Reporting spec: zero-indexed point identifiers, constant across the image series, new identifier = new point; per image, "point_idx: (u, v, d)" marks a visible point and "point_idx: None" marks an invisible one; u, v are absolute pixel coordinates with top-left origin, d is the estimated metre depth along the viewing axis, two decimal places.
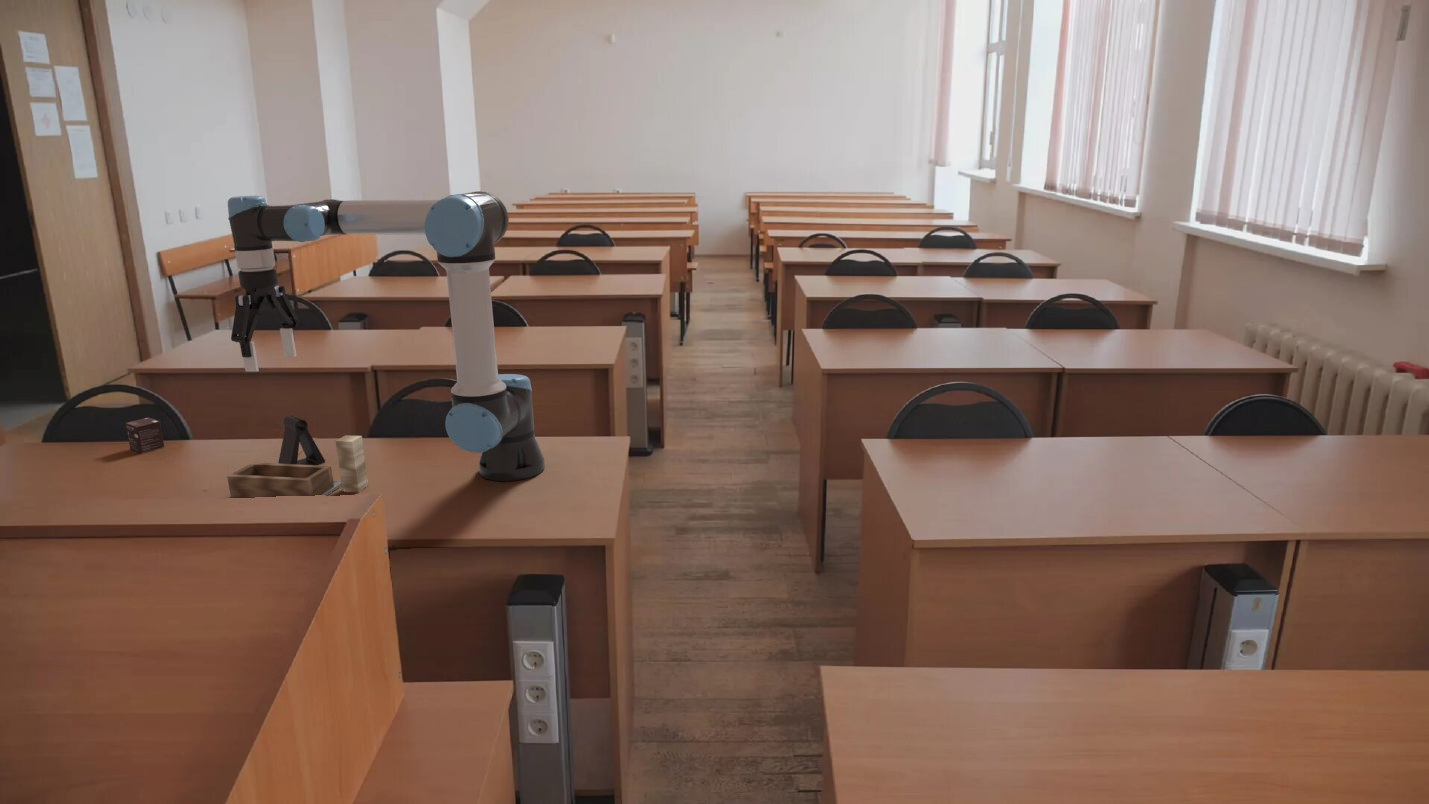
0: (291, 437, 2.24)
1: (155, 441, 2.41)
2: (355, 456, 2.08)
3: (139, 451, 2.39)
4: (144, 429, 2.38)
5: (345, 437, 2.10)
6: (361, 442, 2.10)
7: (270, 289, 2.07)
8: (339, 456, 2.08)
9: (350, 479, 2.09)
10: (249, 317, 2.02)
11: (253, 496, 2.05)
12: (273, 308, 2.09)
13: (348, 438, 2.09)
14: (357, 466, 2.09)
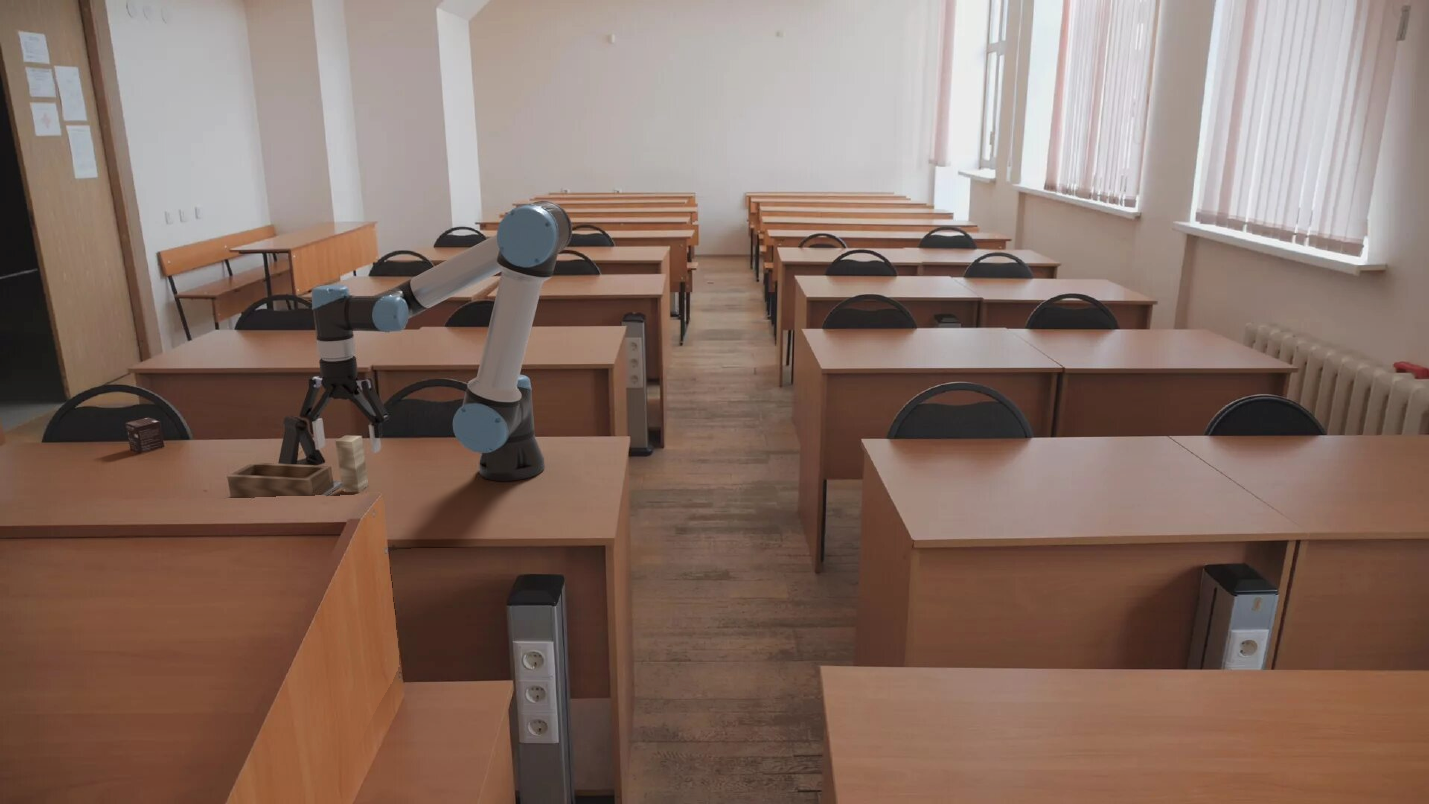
0: (291, 437, 2.24)
1: (155, 441, 2.41)
2: (355, 456, 2.08)
3: (139, 451, 2.39)
4: (144, 429, 2.38)
5: (345, 437, 2.10)
6: (361, 442, 2.10)
7: (345, 380, 2.04)
8: (338, 456, 2.08)
9: (350, 479, 2.09)
10: None
11: (253, 496, 2.05)
12: None
13: (347, 438, 2.09)
14: (357, 466, 2.09)
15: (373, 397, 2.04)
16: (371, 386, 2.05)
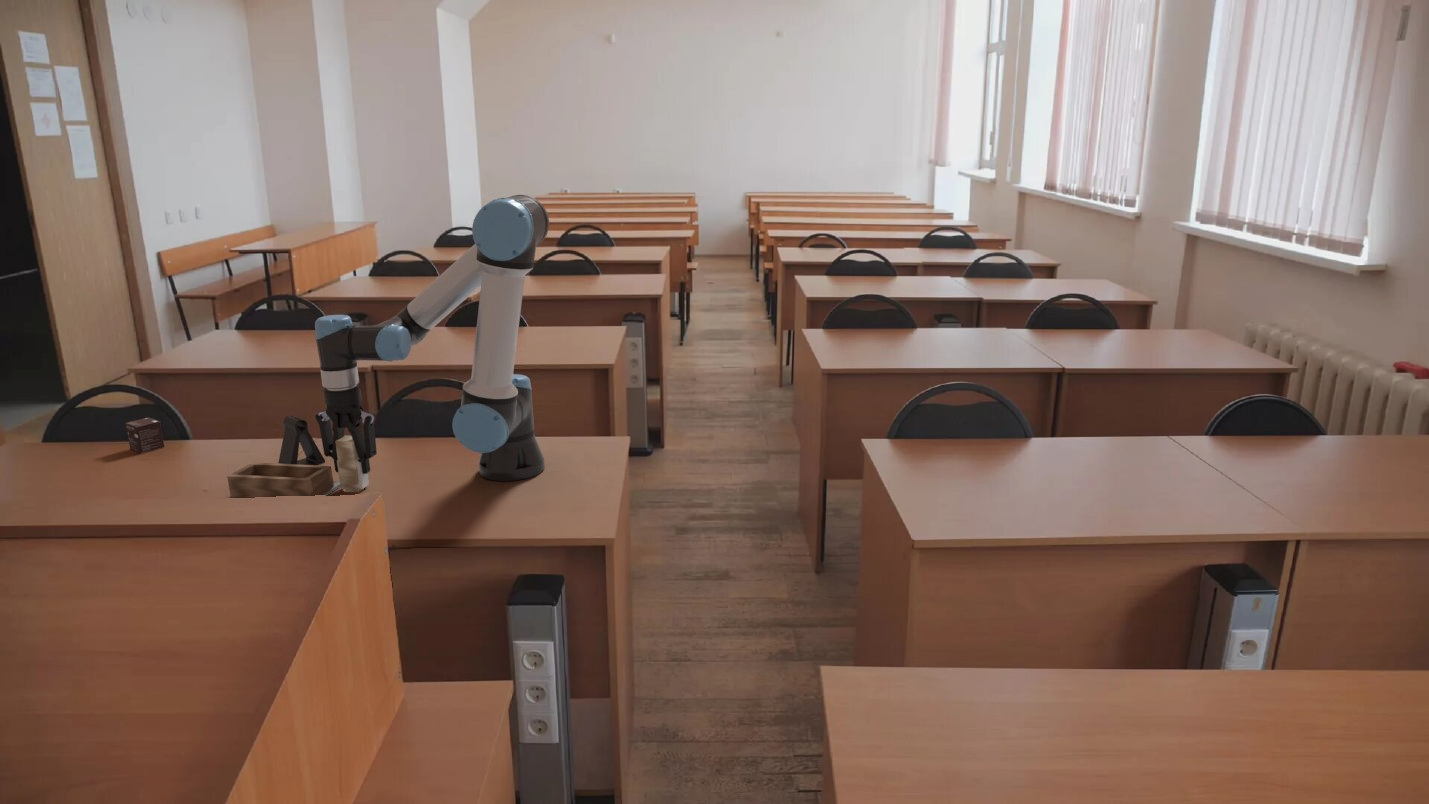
0: (291, 437, 2.24)
1: (155, 441, 2.41)
2: (355, 456, 2.08)
3: (139, 451, 2.39)
4: (144, 429, 2.38)
5: (345, 437, 2.10)
6: None
7: (351, 407, 2.05)
8: (338, 456, 2.08)
9: (350, 479, 2.09)
10: None
11: (253, 496, 2.05)
12: None
13: (347, 438, 2.09)
14: None
15: (370, 433, 2.07)
16: (373, 422, 2.07)
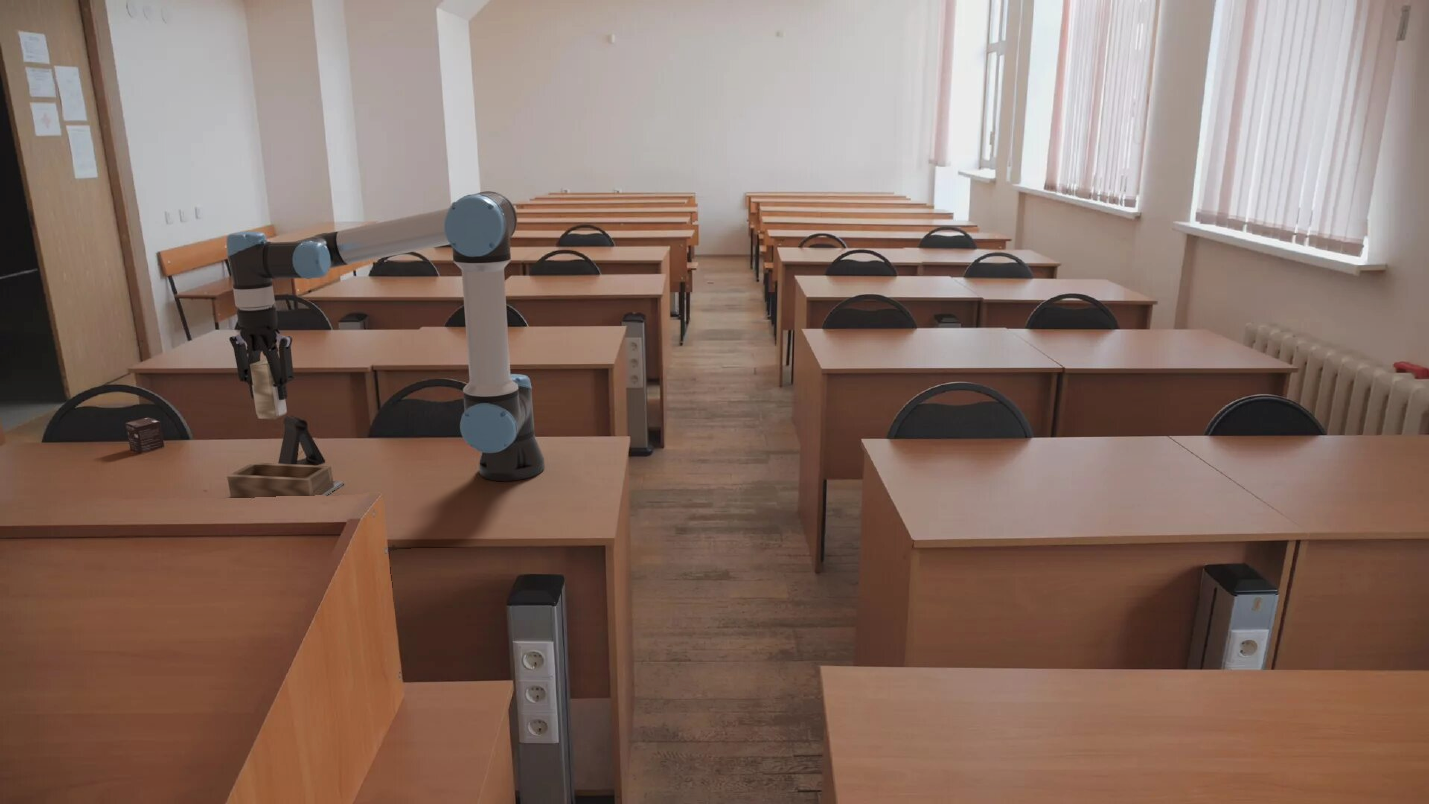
0: (291, 437, 2.24)
1: (155, 441, 2.41)
2: (270, 381, 2.00)
3: (139, 451, 2.39)
4: (144, 429, 2.38)
5: (261, 361, 2.01)
6: None
7: (266, 329, 1.97)
8: (253, 380, 2.00)
9: (266, 405, 2.01)
10: None
11: (253, 496, 2.05)
12: None
13: (263, 362, 2.01)
14: None
15: (286, 357, 1.99)
16: (289, 345, 1.99)
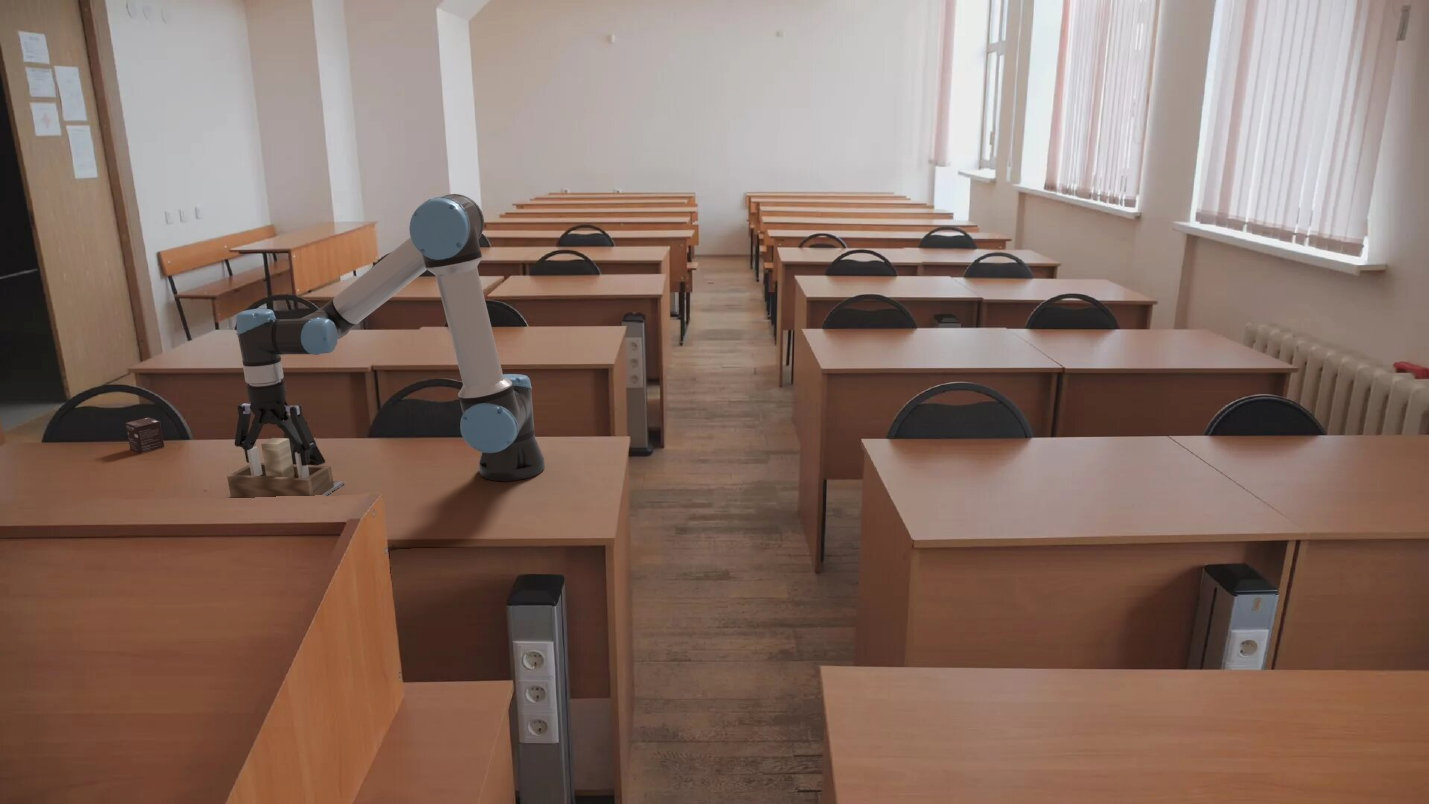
0: None
1: (155, 441, 2.41)
2: (281, 459, 2.05)
3: (139, 451, 2.39)
4: (144, 429, 2.38)
5: (272, 440, 2.06)
6: (289, 445, 2.07)
7: (274, 404, 2.02)
8: (264, 459, 2.05)
9: None
10: None
11: (253, 496, 2.05)
12: None
13: (274, 440, 2.06)
14: (284, 469, 2.06)
15: (301, 424, 2.02)
16: (300, 412, 2.03)
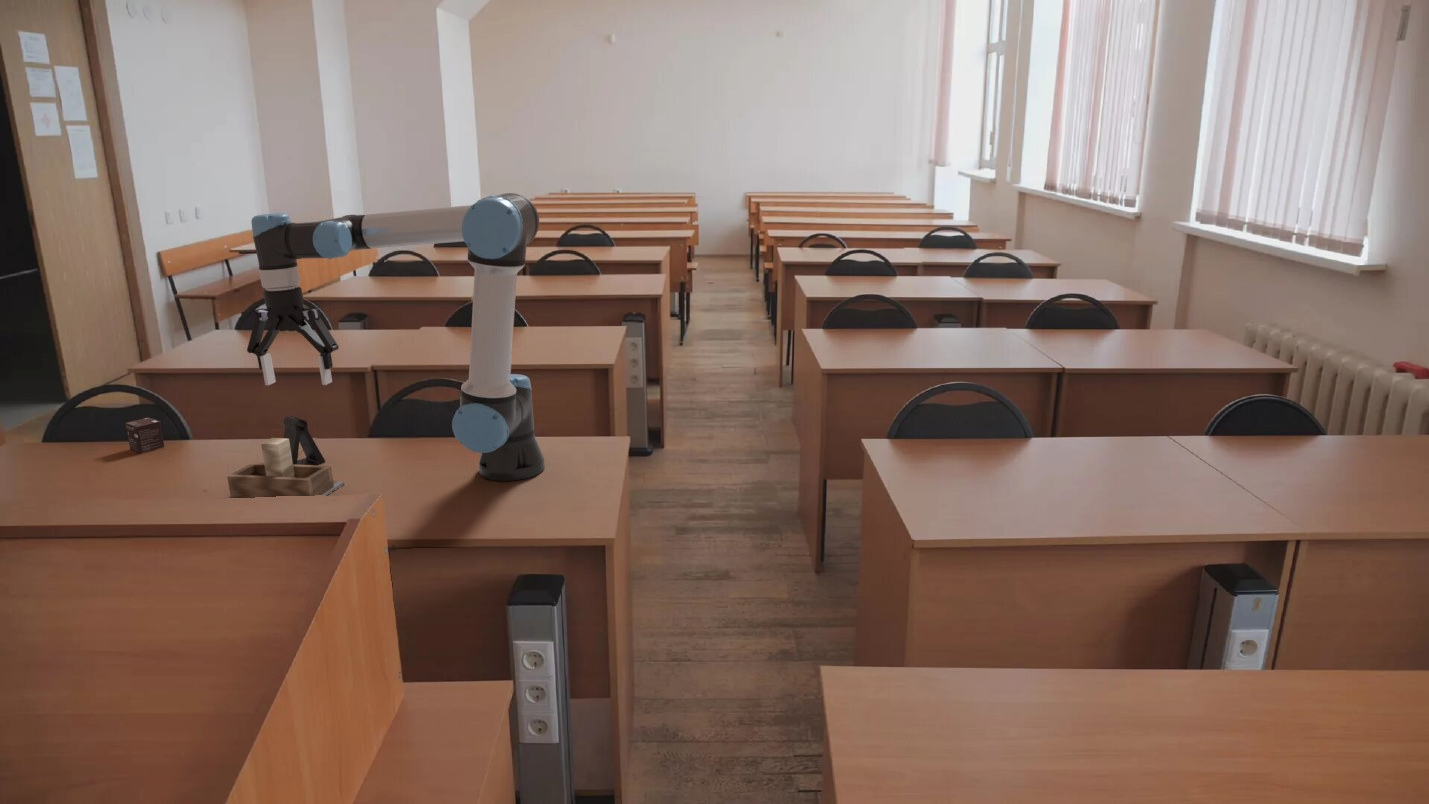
0: (291, 437, 2.24)
1: (155, 441, 2.41)
2: (281, 459, 2.05)
3: (139, 451, 2.39)
4: (144, 429, 2.38)
5: (272, 440, 2.06)
6: (289, 445, 2.07)
7: (291, 310, 2.00)
8: (264, 459, 2.05)
9: None
10: None
11: (253, 496, 2.05)
12: None
13: (274, 440, 2.06)
14: (284, 469, 2.06)
15: (320, 327, 2.01)
16: (318, 316, 2.02)
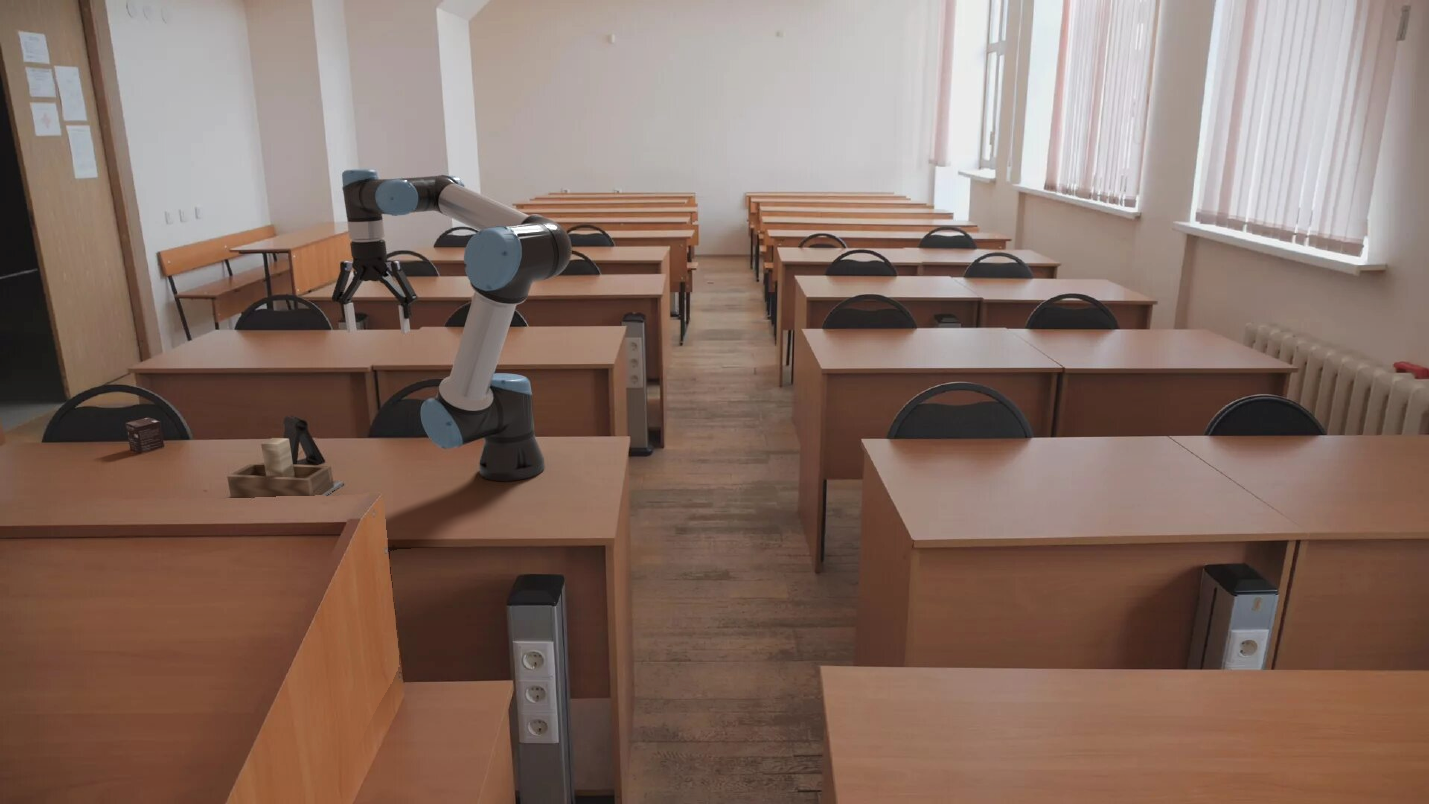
0: (291, 437, 2.24)
1: (155, 441, 2.41)
2: (281, 459, 2.05)
3: (139, 451, 2.39)
4: (144, 429, 2.38)
5: (272, 440, 2.06)
6: (289, 445, 2.07)
7: (375, 262, 2.12)
8: (264, 459, 2.05)
9: None
10: None
11: (253, 496, 2.05)
12: None
13: (274, 440, 2.06)
14: (284, 469, 2.06)
15: (402, 278, 2.12)
16: (400, 268, 2.13)
